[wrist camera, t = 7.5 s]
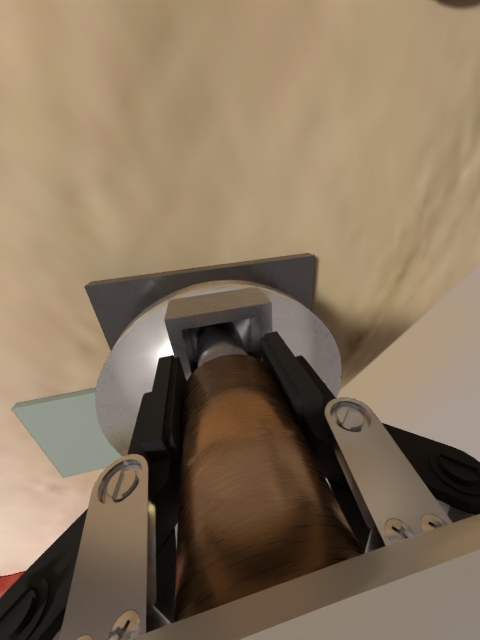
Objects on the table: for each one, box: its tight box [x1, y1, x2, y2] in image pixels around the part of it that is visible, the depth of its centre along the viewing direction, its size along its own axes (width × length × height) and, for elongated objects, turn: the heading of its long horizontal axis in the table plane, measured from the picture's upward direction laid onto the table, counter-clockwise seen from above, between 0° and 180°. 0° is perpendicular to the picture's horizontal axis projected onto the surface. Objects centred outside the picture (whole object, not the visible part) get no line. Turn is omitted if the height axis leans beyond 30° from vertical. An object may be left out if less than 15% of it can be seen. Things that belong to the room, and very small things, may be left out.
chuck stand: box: [84, 253, 315, 351], centre depth 20 cm, size 17×17×4 cm
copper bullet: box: [174, 321, 364, 623], centre depth 8 cm, size 4×4×10 cm
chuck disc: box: [95, 280, 342, 456], centre depth 15 cm, size 17×17×7 cm
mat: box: [11, 388, 123, 478], centre depth 22 cm, size 10×8×1 cm
